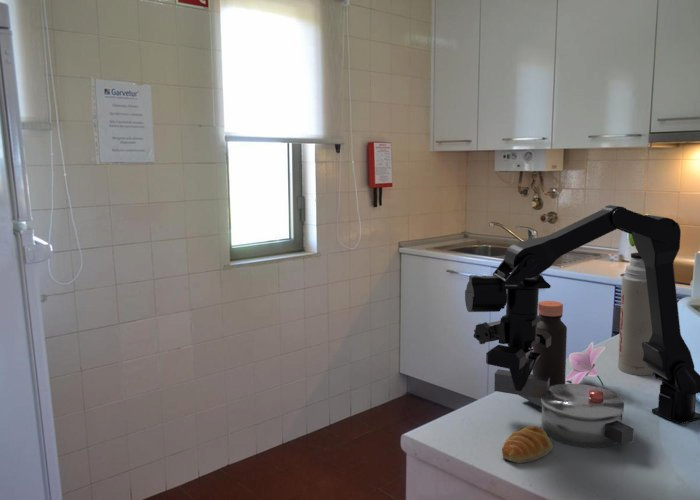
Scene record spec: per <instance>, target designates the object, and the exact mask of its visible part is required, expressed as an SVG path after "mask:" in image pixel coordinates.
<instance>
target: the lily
mask: <svg viewBox="0 0 700 500" xmlns="http://www.w3.org/2000/svg"><path fill="white" fill-rule="evenodd" d="M605 349H606V345H605V346H604V345H602V346H598V347H595V348H594V341H591V342H590V343H589V344H588V346H587V347H586V349H585V351H584V352H581V351H580V352H579V351H578V352H576V351H575V352H571V353H570V354H569V355H568V358H569V359H568V360H569V364H570V366H571V368H572V370H570V372H569V373H568V374H567V376H565V382H568V381H570V380H571V384H581V381H582V380H583V378H584V377H597V379H598V380H599V381H600V384H601V385H604V383H603V381H602V379H601V378H600V376H599V374H598V371H597V368H596V364H595V362H596V361H597V359H598V357H599V356H600V355H601V354H602V352H603V351H604V350H605Z"/></svg>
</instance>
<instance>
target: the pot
mask: <svg viewBox="0 0 700 500" xmlns="http://www.w3.org/2000/svg"><path fill="white" fill-rule="evenodd" d="M518 396H519V397H521V398H523V399H525V400H527V401H528V402H531V403H532V404H534V405H536V406H537V407H538V406H539V407H541V429H542V430H544V431H545V432H546V434H547V436H548V437H550V438H551V439H553V440H556V441H557V442H560V443H563V444H565V445H570V446H572V447H573V446H574V447H579V448H586V449H588V448H589V449H599V448H607V447H611V446H614V445H617V444H618V445H619V446H620V445H621V446H623V445H626V444H631V443H632V442H634V433H635V432H634V430H635V428H634V427H631V426H629V425H628V424H625V423H623V413H622V414H621V415H620V416H618V417H616V418H613V419H608V420H599V421H591V420H580V419H574V418H569V417H565V416H562V415H559V414H556V413H554V412H552V411H550V410H549V409H547V408H546V407H545V406H544V405H543V404H542V402H541V399H540V398H534V397H528V396H522V395H518Z"/></svg>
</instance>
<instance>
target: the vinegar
mask: <svg viewBox="0 0 700 500" xmlns="http://www.w3.org/2000/svg"><path fill="white" fill-rule="evenodd" d="M563 310H564V304H563V303H562V302H559V301H556V300H555V301H554V300H543V301H540V302H539V301H538V316H541V321H540V322H538V323H537V329H539V330H545V331H548V333H549V334H550V335H551V345H550V346H549V347H548V348H544V347H543V344H542V343H538V344H536V345H535V346H534V347H532V349H534V351H533V352H535V353H540V354H541V356H540V357H539V359H538V361H537V362H536V364H535V366H534V368H533V370H532V374H534V375H540V376H547V377H550V386H554V385H559V384H566V381H565V379H566V374H567V372H566V369H567V367H566V366H567V336H568V335H567V333H568V327H567V325H565V323H564V322H563V321H562V318H563V312H564V311H563Z"/></svg>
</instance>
